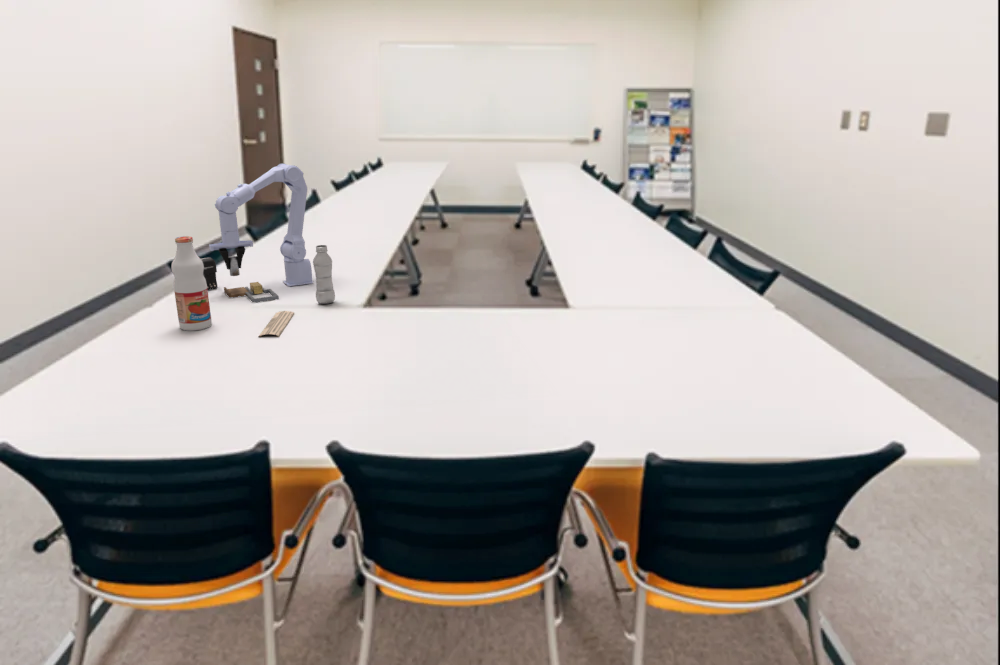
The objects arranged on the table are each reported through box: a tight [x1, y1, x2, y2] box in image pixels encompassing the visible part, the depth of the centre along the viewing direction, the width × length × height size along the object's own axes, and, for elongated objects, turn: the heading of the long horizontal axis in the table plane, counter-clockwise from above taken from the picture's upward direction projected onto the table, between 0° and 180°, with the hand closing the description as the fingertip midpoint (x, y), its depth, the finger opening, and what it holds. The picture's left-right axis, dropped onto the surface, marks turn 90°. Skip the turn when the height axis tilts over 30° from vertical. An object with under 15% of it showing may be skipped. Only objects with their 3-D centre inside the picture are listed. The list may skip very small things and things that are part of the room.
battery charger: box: [200, 257, 218, 291], centre depth 269 cm, size 7×4×11 cm, turn 134°
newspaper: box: [258, 310, 295, 338], centre depth 230 cm, size 24×7×2 cm, turn 4°
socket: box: [244, 286, 280, 303], centre depth 263 cm, size 9×19×1 cm, turn 31°
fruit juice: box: [171, 235, 213, 332], centre depth 225 cm, size 9×9×28 cm
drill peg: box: [228, 255, 241, 277], centre depth 261 cm, size 3×3×6 cm
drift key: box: [249, 281, 264, 295], centre depth 266 cm, size 3×6×3 cm, turn 31°
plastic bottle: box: [312, 244, 336, 305], centre depth 250 cm, size 6×7×20 cm
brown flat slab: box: [223, 286, 249, 298], centre depth 265 cm, size 7×9×2 cm
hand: (234, 268), depth 262 cm, fingers closed on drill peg, 3 cm apart
